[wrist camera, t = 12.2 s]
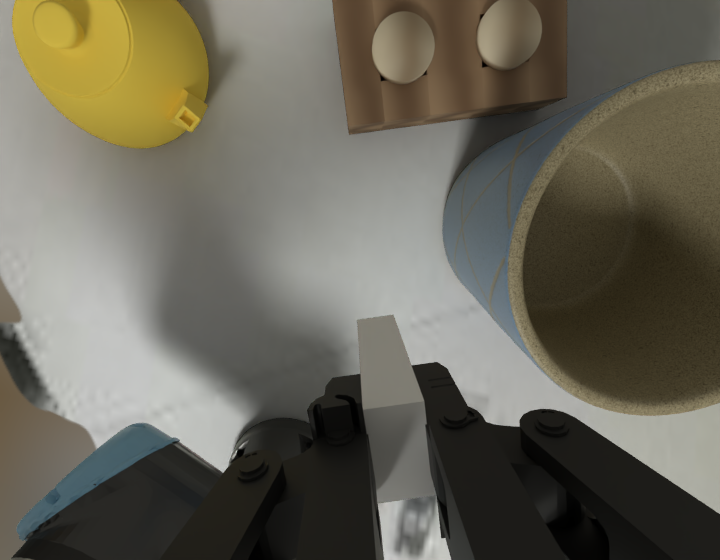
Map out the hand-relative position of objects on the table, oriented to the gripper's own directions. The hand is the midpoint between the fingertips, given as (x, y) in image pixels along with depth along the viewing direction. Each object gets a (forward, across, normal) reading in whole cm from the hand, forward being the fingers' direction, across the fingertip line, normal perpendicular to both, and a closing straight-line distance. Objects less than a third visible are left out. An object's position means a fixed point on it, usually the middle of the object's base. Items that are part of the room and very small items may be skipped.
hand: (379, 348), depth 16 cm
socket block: (+32, +12, +19) cm, 39 cm away
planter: (+32, +20, 0) cm, 38 cm away
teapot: (+32, -19, +22) cm, 44 cm away
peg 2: (+32, +17, +19) cm, 40 cm away
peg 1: (+32, +7, +19) cm, 37 cm away
